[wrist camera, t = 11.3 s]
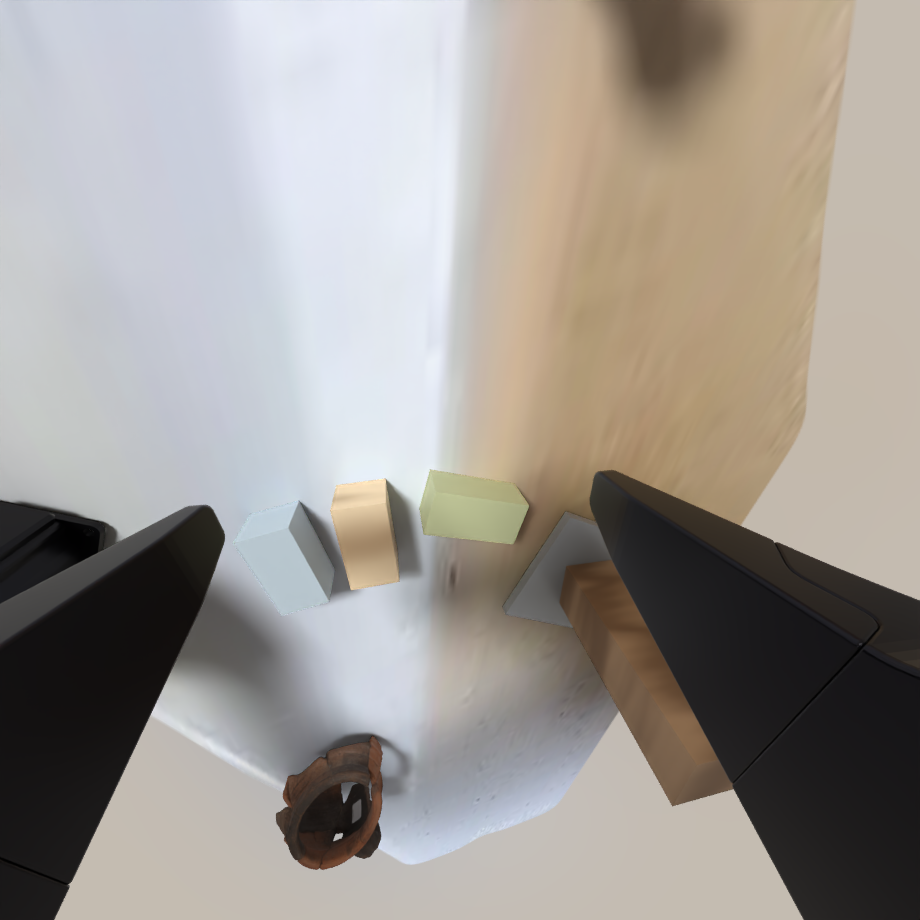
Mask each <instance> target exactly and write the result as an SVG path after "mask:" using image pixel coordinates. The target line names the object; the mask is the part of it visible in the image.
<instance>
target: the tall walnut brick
mask: <svg viewBox="0 0 920 920" xmlns="http://www.w3.org/2000/svg"><path fill="white" fill-rule="evenodd" d="M559 603H560V605H561V607H562V609H563V610H564V612H565V614H566V616H567V618H568V619H569V621H570V623H571V625H572V627H573V628H574V630H575V632H576V634H577V636H578V637H579V639H580V641H581V643H582V645H583V646H584V648H585V650H586V652H587V654H588V655H589V657H590V659H591V661H592V663H593V664H594V666H595V668H596V670H597V672H598V673H599V675H600V677H601V679H602V681H603V682H604V684H605V686H606V688H607V690H608V691H609V693H610V695H611V697H612V699H613V700H614V702H615V704H616V706H617V708H618V709H619V711H620V713H621V715H622V717H623V718H624V720H625V722H626V724H627V725H628V727H629V729H630V731H631V733H632V734H633V736H634V738H635V740H636V741H637V743H638V745H639V747H640V749H641V751H642V752H643V754H644V756H645V758H646V760H647V761H648V763H649V765H650V767H651V769H652V770H653V772H654V774H655V776H656V777H657V779H658V781H659V783H660V785H661V786H662V788H663V790H664V792H665V794H666V796H667V797H668V799H669V801H670V803H671V805H672V806H675V805H678V804H682V803H685V802H689V801H693V800H696V799H700V798H703V797H707V796H710V795H714V794H717V793H721V792H724V791H728V790H732V789H733V787H732V784H733V783H731V782H730V781H729V779H728V777H727V775H726V773H725V771H724V769H723V768H722V766H721V764H720V762H719V760H718V758H717V756H716V754H715V753H714V751H713V749H712V747H711V745H710V743H709V741H708V740H707V738H706V736H705V734H704V732H703V730H702V728H701V726H700V725H699V723H698V721H697V719H696V717H695V715H694V713H693V712H692V710H691V708H690V706H689V704H688V702H687V700H686V698H685V697H684V695H683V693H682V691H681V689H680V687H679V685H678V684H677V682H676V680H675V678H674V676H673V674H672V672H671V670H670V669H669V667H668V665H667V663H666V661H665V659H664V657H663V656H662V654H661V652H660V650H659V648H658V646H657V644H656V642H655V641H654V639H653V637H652V635H651V633H650V631H649V629H648V628H647V626H646V624H645V622H644V620H643V618H642V616H641V614H640V613H639V611H638V609H637V607H636V605H635V603H634V601H633V600H632V598H631V596H630V594H629V592H628V590H627V588H626V586H625V585H624V583H623V581H622V579H621V577H620V575H619V573H618V572H617V570H616V568H615V566H614V564H613V562H612V560H606V561H599V562H592V563H584V564H577V565H569V566H566V570H565V575H564V580H563V586H562V591H561V596H560V601H559Z"/></svg>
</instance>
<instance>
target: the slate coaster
mask: <svg viewBox="0 0 920 920" xmlns="http://www.w3.org/2000/svg"><path fill="white" fill-rule="evenodd" d="M606 560H611V557H610V555H609V553H608V550H607V548H606V545H605V543H604V540H603V538H602V535H601V533H600V530H599V528H598V525H597V523H596V522H595V521H592V520H589V519H587V518H584V517H581V516H578V515H575V514H572V513H569V512H566V511H565V513H564V515H563V516H562V518H561V519H560V521H559V522H558V524H557V525H556V527H555V528H554V530H553V531H552V533H551V534H550V536H549V537H548V539H547V540H546V542H545V543H544V545H543V546H542V548H541V549H540V551H539V552H538V554H537V555H536V557H535V558H534V560H533V561H532V563H531V564H530V566H529V567H528V569H527V570H526V572H525V573H524V575H523V576H522V578H521V579H520V581H519V582H518V584H517V585H516V587H515V589H514V590H513V592H512V593H511V595H510V596H509V598H508V599H507V601H506V602H505V604H504V605H503V610H504V612H505V615H510V616H515V617H520V618H525V619H530V620H535V621H540V622H545V623H550V624H555V625H560V626H565V627H570V628H573V627H572V625H571V623H570V621H569V619H568V618H567V616H566V614H565V612H564V610H563V609H562V607H561V605H560V603H559V601H560V596H561V591H562V586H563V580H564V575H565V570H566V566H569V565H577V564H584V563H592V562H599V561H606Z"/></svg>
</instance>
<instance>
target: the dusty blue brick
mask: <svg viewBox="0 0 920 920" xmlns="http://www.w3.org/2000/svg"><path fill="white" fill-rule="evenodd" d="M233 545H234V546H235V548H236V549H237V551H238V552H239V554H240V555H241V557H242V558H243V560H244V561H245V563H246V564H247V566H248V567H249V569H250V570H251V572H252V573H253V575H254V576H255V578H256V579H257V581H258V582H259V584H260V585H261V587H262V588H263V590H264V591H265V593H266V594H267V596H268V597H269V599H270V600H271V602H272V603H273V604H274V606H275V607H276V609H277V610H278V612H279V613H280V615H281V616H284V615H287V614H291V613H294V612H297V611H301V610H304V609H307V608H311V607H314V606H317V605H320V604H324V603H327V602H329V601H330V595H331V590H332V584H333V578H334V572H335V569H334V567H333V565H332V563H331V561H330V559H329V558H328V556H327V554H326V552H325V550H324V548H323V546H322V544H321V542H320V540H319V538H318V536H317V534H316V532H315V530H314V528H313V526H312V524H311V523H310V521H309V519H308V517H307V515H306V513H305V511H304V509H303V507H302V505H301V503H300V501H295V502H292V503H288V504H284V505H281V506H277V507H274V508H270V509H266V510H263V511H259V512H255V513H252V514H250V515H249V517H248V518H247V520H246V522H245V523H244V525H243V527H242V529H241V530H240V532H239V534H238V535H237V537H236V539H235V540H234V542H233Z"/></svg>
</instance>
